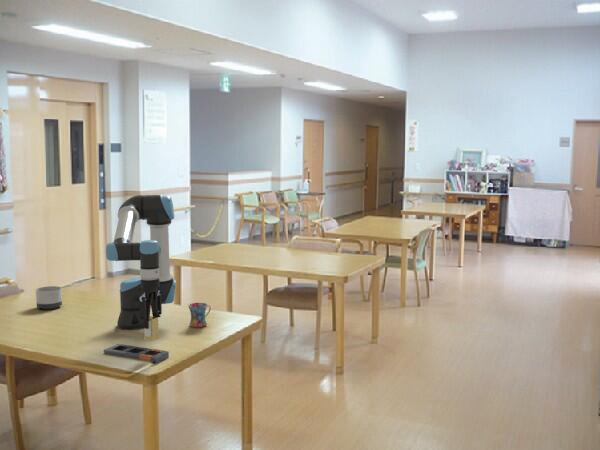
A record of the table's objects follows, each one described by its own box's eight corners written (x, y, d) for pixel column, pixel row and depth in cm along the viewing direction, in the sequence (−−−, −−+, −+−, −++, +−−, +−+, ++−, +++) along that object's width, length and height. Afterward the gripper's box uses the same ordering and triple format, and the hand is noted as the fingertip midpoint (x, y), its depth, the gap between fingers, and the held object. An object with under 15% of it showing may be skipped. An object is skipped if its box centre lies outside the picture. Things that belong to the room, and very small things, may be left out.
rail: (103, 355, 264) (103, 349, 263) (118, 349, 272) (118, 343, 272) (155, 364, 254) (155, 357, 253) (168, 357, 262) (168, 351, 262)
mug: (195, 329, 302) (194, 308, 300) (184, 325, 308) (184, 304, 307) (216, 325, 310) (215, 304, 308) (205, 321, 316) (205, 300, 315)
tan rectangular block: (144, 340, 257) (144, 318, 256) (150, 337, 261) (149, 316, 260) (152, 341, 256) (152, 319, 255) (158, 338, 260) (158, 317, 259)
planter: (44, 304, 349) (43, 285, 348) (66, 305, 347) (65, 286, 346) (31, 310, 337) (31, 291, 335) (54, 311, 335) (53, 291, 334)
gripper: (144, 283, 246) (146, 341, 249) (170, 275, 262) (171, 330, 265) (129, 281, 249) (130, 338, 252) (155, 274, 265) (156, 328, 268)
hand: (151, 334), depth 258 cm, fingers closed on tan rectangular block, 4 cm apart
